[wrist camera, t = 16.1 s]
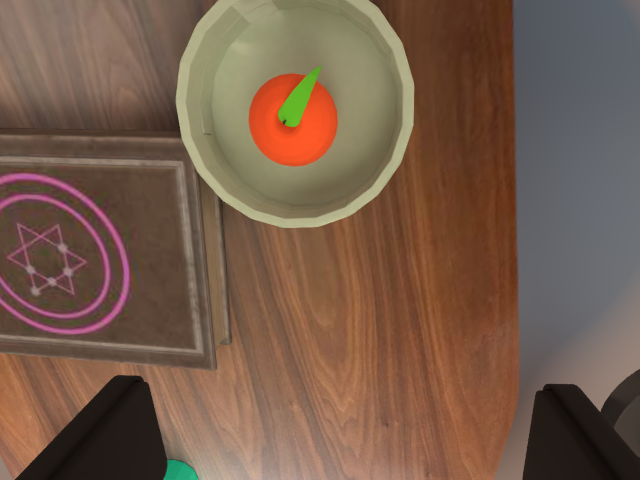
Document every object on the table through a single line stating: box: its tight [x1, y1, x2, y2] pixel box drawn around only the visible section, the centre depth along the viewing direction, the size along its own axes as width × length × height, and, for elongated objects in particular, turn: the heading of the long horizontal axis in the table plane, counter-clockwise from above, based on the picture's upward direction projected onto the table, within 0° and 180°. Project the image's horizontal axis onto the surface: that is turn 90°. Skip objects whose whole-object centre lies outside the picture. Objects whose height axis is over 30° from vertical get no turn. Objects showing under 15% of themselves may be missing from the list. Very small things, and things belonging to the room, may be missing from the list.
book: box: [0, 128, 232, 371], centre depth 35 cm, size 30×22×5 cm
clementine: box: [249, 65, 338, 167], centre depth 28 cm, size 8×7×7 cm
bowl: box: [176, 0, 414, 228], centre depth 29 cm, size 18×18×6 cm
